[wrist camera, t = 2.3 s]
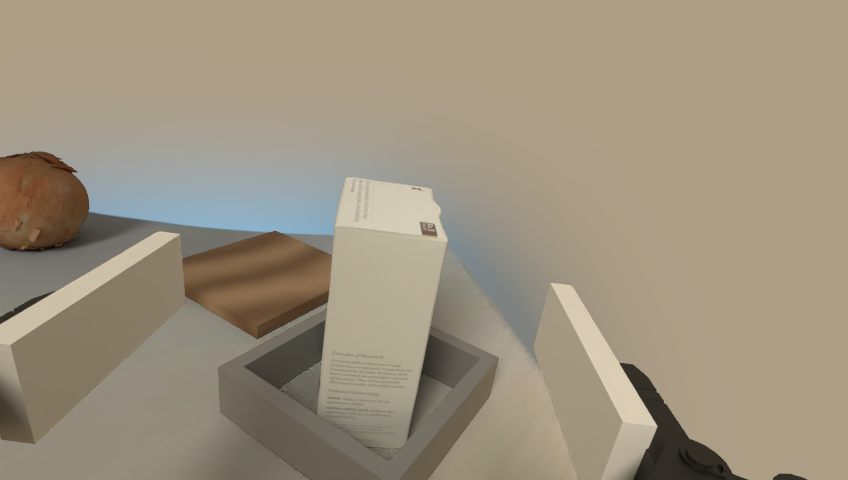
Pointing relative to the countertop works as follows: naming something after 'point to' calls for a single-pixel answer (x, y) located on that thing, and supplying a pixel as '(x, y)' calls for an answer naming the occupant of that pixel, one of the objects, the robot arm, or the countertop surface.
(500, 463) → the countertop surface
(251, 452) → the countertop surface
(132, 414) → the countertop surface
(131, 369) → the countertop surface
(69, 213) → the onion
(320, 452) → the holder
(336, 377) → the skincare box
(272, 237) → the coaster
